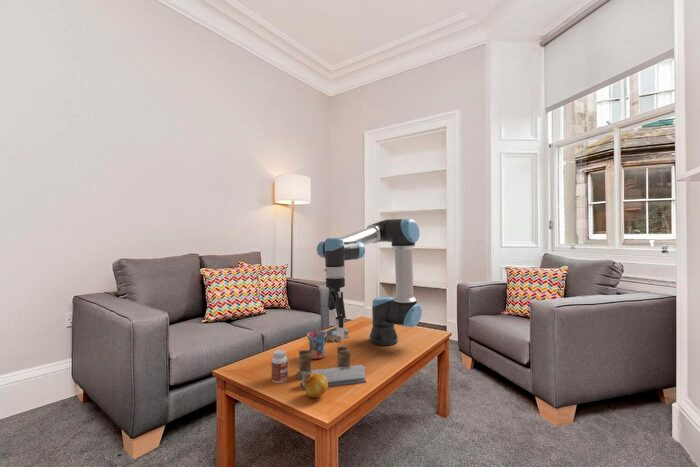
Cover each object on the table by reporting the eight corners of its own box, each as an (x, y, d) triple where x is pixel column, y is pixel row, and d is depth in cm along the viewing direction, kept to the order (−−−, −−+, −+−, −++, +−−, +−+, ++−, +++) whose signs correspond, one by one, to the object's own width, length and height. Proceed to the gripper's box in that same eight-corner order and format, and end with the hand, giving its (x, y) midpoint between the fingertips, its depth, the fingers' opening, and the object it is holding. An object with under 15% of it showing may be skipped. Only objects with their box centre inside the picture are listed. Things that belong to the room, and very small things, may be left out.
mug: (315, 362, 147) (315, 338, 147) (302, 357, 153) (302, 334, 153) (335, 354, 156) (334, 332, 156) (321, 350, 162) (321, 328, 162)
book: (329, 346, 168) (329, 336, 168) (313, 341, 176) (313, 332, 176) (354, 337, 183) (354, 328, 183) (338, 332, 191) (338, 324, 191)
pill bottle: (282, 384, 125) (281, 355, 125) (268, 382, 128) (268, 353, 128) (290, 377, 131) (290, 350, 131) (277, 375, 134) (277, 348, 133)
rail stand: (348, 367, 141) (348, 345, 141) (352, 373, 135) (352, 350, 135) (296, 373, 135) (296, 350, 135) (298, 379, 129) (298, 355, 129)
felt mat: (361, 375, 133) (361, 374, 133) (366, 382, 127) (366, 380, 127) (301, 383, 127) (301, 381, 127) (303, 390, 121) (303, 388, 121)
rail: (362, 375, 131) (362, 364, 131) (365, 379, 128) (364, 367, 128) (302, 383, 125) (302, 371, 125) (303, 386, 122) (302, 374, 122)
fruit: (301, 401, 113) (301, 377, 113) (308, 390, 121) (308, 368, 121) (325, 403, 112) (324, 379, 112) (330, 391, 120) (330, 369, 120)
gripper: (320, 273, 142) (321, 322, 142) (332, 282, 118) (334, 341, 118) (337, 272, 144) (338, 320, 144) (353, 281, 120) (354, 339, 120)
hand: (336, 330), depth 131 cm, fingers open, 13 cm apart
